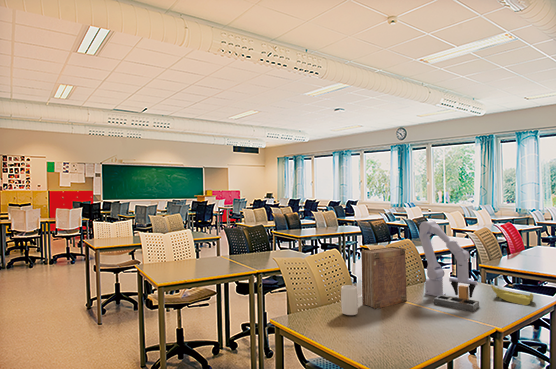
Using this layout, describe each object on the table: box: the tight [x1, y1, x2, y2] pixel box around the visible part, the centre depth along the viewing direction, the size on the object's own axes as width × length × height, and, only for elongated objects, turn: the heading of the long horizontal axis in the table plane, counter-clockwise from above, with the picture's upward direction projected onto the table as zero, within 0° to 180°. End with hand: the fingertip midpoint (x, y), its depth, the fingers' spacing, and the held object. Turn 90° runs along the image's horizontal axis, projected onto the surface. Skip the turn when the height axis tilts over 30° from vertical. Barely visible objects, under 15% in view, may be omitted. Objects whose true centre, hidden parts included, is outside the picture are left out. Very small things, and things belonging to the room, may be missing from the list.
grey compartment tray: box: [433, 294, 480, 313], centre depth 198 cm, size 20×10×3 cm, turn 45°
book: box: [360, 246, 408, 310], centre depth 205 cm, size 25×9×30 cm, turn 121°
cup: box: [340, 284, 359, 316], centre depth 187 cm, size 8×8×14 cm
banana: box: [490, 284, 534, 306], centre depth 205 cm, size 20×7×10 cm
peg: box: [458, 284, 470, 300], centre depth 206 cm, size 4×4×8 cm
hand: (463, 296), depth 206 cm, fingers open, 7 cm apart
